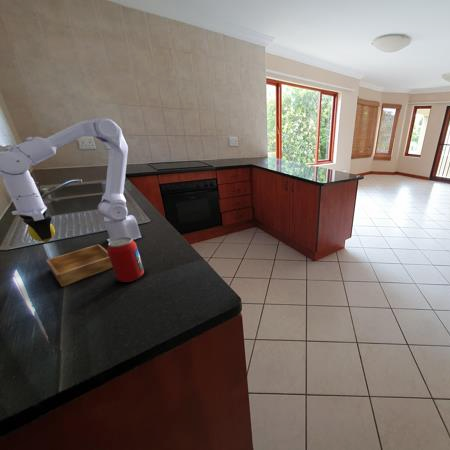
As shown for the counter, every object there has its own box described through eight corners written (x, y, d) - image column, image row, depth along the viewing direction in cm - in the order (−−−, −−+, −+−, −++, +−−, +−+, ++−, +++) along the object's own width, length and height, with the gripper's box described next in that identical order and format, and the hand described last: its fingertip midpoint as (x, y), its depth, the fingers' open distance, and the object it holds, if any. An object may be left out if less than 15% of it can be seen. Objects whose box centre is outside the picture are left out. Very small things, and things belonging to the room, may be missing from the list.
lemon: (43, 247, 72) (32, 223, 69) (29, 245, 73) (17, 221, 70) (63, 239, 77) (53, 216, 74) (50, 237, 78) (40, 215, 75)
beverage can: (150, 273, 73) (140, 238, 68) (129, 286, 67) (116, 248, 62) (133, 268, 75) (123, 234, 70) (112, 281, 69) (98, 244, 64)
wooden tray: (102, 253, 83) (98, 243, 82) (116, 266, 76) (113, 255, 74) (50, 270, 73) (45, 259, 72) (61, 286, 66) (56, 275, 65)
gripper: (1, 193, 70) (21, 234, 75) (7, 202, 62) (30, 247, 67) (35, 188, 75) (52, 227, 80) (45, 196, 67) (63, 238, 73)
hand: (44, 236), depth 74 cm, fingers closed on lemon, 5 cm apart
